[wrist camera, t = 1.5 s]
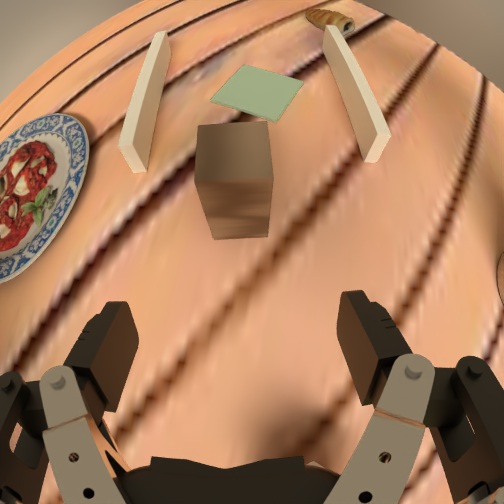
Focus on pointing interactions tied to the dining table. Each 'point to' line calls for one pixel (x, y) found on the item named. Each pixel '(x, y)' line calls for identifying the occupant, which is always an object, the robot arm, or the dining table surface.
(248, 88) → the pad
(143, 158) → the arena
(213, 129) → the walnut block
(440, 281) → the dining table surface
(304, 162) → the dining table surface
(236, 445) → the dining table surface
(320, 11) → the pastry
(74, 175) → the ceramic plate
